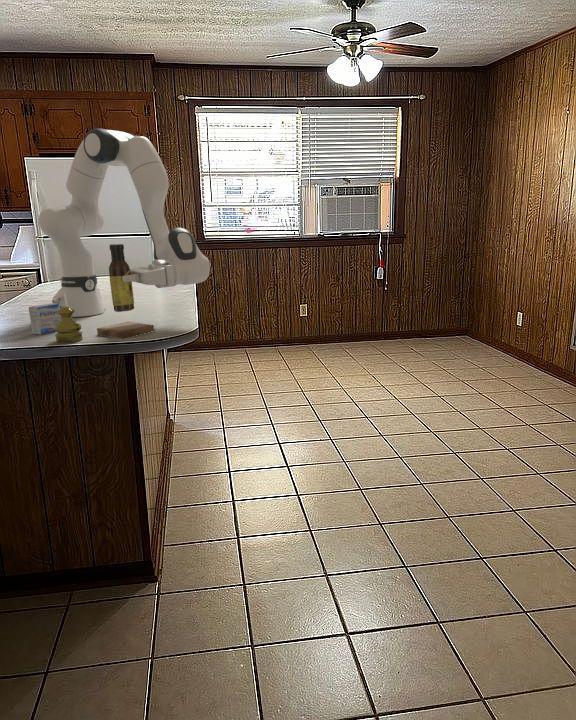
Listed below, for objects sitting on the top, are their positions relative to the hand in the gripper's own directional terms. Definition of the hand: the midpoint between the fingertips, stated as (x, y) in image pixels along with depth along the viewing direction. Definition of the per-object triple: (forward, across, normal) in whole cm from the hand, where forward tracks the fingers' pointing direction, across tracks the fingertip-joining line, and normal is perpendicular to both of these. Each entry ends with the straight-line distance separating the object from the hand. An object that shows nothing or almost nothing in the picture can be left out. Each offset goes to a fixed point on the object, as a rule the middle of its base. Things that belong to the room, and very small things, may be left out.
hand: (117, 277), depth 169 cm
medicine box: (+18, -20, +17) cm, 32 cm away
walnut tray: (-1, 0, +17) cm, 17 cm away
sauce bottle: (-1, 0, +10) cm, 10 cm away
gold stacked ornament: (+16, -2, +17) cm, 23 cm away
